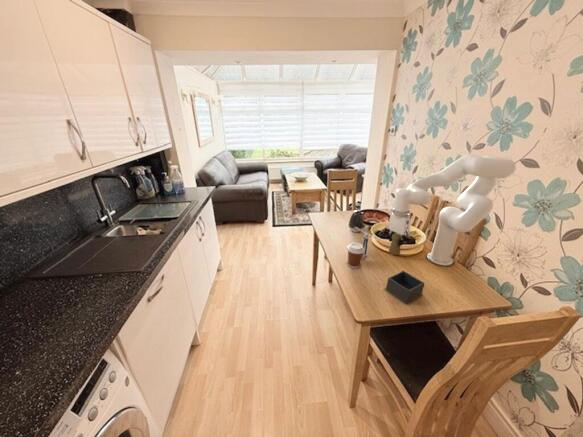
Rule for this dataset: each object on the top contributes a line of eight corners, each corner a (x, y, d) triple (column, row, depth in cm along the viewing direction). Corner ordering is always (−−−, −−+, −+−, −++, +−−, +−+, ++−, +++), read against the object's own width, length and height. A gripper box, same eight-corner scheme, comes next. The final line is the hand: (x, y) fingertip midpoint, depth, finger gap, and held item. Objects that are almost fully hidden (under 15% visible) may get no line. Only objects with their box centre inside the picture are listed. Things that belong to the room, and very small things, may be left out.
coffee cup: (363, 270, 127) (365, 250, 122) (345, 268, 128) (347, 249, 124) (361, 260, 135) (364, 242, 130) (345, 258, 137) (347, 240, 132)
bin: (400, 281, 118) (403, 270, 115) (421, 294, 109) (424, 283, 107) (385, 289, 113) (388, 277, 110) (406, 303, 104) (409, 291, 101)
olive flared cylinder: (399, 255, 129) (402, 238, 125) (387, 252, 132) (390, 235, 128) (401, 250, 134) (404, 233, 130) (389, 248, 137) (392, 231, 133)
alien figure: (346, 249, 146) (349, 220, 139) (352, 247, 149) (356, 218, 141) (371, 265, 130) (376, 234, 123) (378, 262, 133) (383, 232, 125)
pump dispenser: (364, 233, 165) (367, 213, 159) (349, 233, 165) (351, 213, 159) (360, 227, 174) (363, 208, 168) (346, 227, 175) (348, 208, 169)
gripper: (420, 216, 118) (414, 247, 126) (391, 206, 132) (387, 235, 139) (411, 219, 115) (405, 251, 122) (382, 209, 129) (378, 238, 136)
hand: (395, 242), depth 131 cm, fingers closed on olive flared cylinder, 5 cm apart
